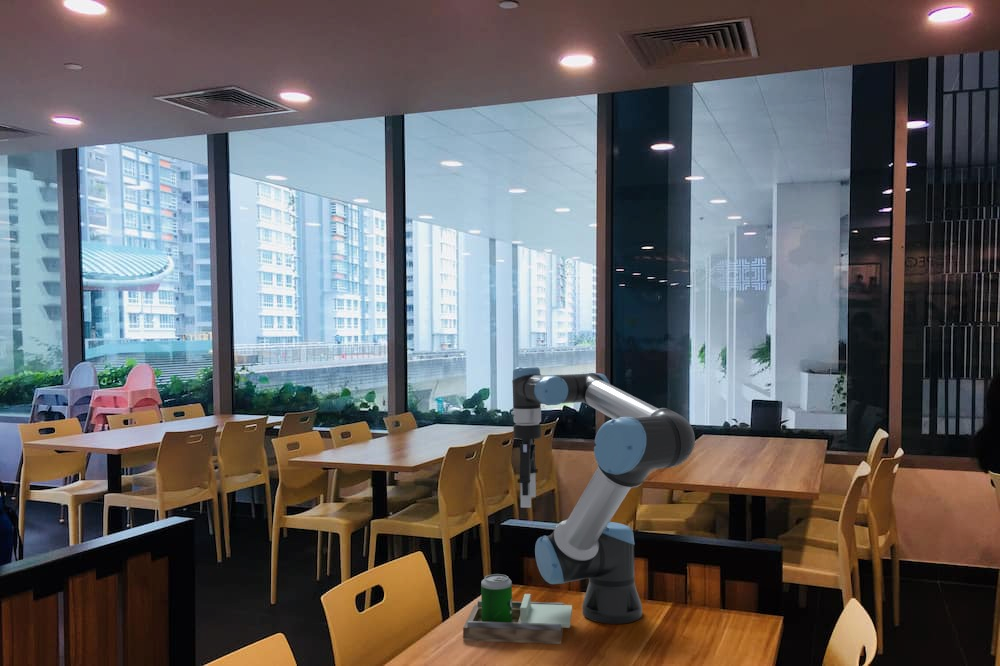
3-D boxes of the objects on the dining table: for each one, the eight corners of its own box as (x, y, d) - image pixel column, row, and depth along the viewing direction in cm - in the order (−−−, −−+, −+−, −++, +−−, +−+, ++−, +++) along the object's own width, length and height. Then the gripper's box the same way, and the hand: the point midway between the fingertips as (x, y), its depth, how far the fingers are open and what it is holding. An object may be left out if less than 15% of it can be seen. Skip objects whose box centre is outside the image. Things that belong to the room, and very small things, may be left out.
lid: (572, 608, 193) (571, 593, 193) (569, 627, 180) (569, 611, 180) (525, 606, 194) (525, 591, 194) (519, 625, 182) (519, 609, 182)
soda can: (509, 633, 184) (508, 583, 184) (478, 631, 186) (478, 581, 186) (515, 622, 192) (514, 573, 192) (485, 620, 193) (484, 572, 193)
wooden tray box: (564, 619, 195) (564, 602, 195) (560, 644, 179) (560, 625, 179) (474, 616, 198) (474, 599, 198) (463, 640, 182) (463, 622, 182)
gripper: (518, 418, 222) (519, 492, 222) (507, 428, 197) (509, 511, 197) (544, 418, 221) (545, 492, 221) (536, 428, 196) (538, 512, 196)
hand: (528, 502), depth 209 cm, fingers open, 13 cm apart
